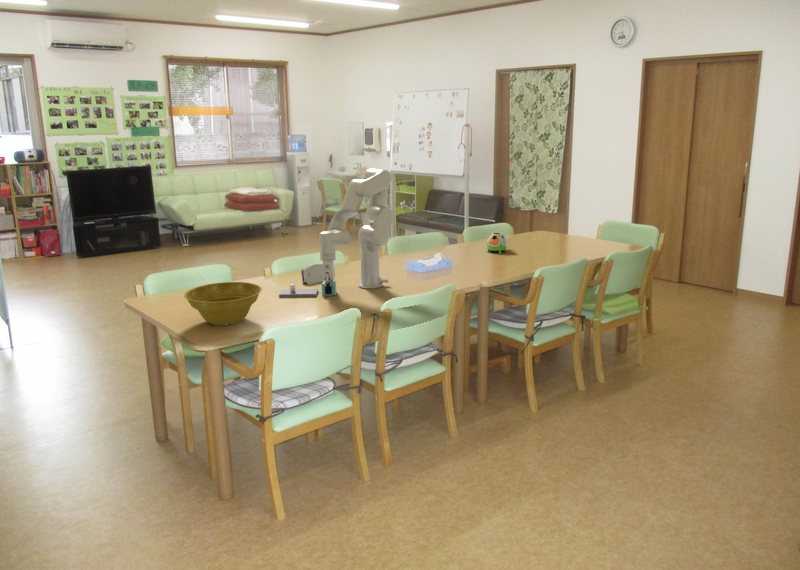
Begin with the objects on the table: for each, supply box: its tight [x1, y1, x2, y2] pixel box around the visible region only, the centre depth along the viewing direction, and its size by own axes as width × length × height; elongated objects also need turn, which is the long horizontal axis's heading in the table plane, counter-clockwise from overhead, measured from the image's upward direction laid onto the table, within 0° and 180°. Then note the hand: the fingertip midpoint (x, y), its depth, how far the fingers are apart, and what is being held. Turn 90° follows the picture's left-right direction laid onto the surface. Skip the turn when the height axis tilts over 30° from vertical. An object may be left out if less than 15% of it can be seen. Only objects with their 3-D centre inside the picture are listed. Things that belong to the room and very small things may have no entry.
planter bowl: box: [183, 281, 263, 326], centre depth 282 cm, size 32×32×13 cm
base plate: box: [278, 283, 319, 298], centre depth 324 cm, size 18×10×5 cm, turn 91°
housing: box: [321, 280, 337, 297], centre depth 324 cm, size 6×6×6 cm
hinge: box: [300, 263, 325, 285], centre depth 350 cm, size 17×5×10 cm, turn 133°
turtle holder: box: [486, 232, 507, 254], centre depth 421 cm, size 12×18×12 cm
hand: (329, 291), depth 324 cm, fingers closed on housing, 6 cm apart
